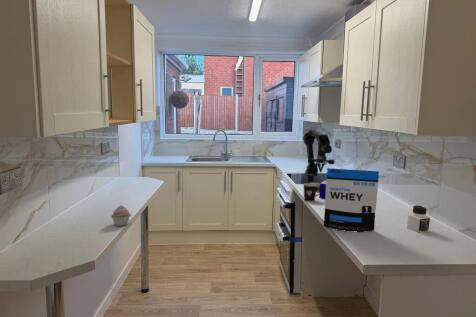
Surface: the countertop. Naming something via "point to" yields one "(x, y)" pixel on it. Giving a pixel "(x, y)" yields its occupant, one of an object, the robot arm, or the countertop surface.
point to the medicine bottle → (418, 219)
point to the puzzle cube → (323, 186)
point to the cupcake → (121, 216)
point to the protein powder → (351, 199)
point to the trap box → (317, 186)
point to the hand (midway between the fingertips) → (320, 172)
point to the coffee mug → (310, 191)
